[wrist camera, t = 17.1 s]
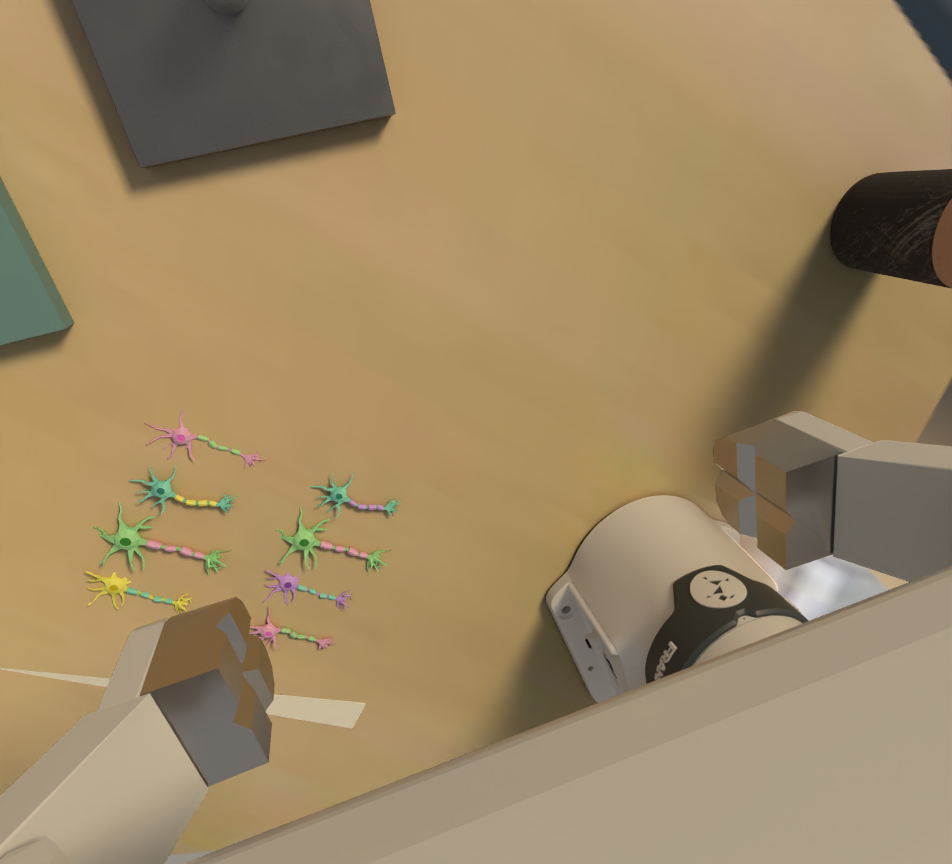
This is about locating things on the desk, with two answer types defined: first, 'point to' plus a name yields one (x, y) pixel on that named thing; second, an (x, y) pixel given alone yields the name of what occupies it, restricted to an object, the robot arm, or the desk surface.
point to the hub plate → (25, 282)
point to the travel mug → (898, 226)
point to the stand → (234, 70)
